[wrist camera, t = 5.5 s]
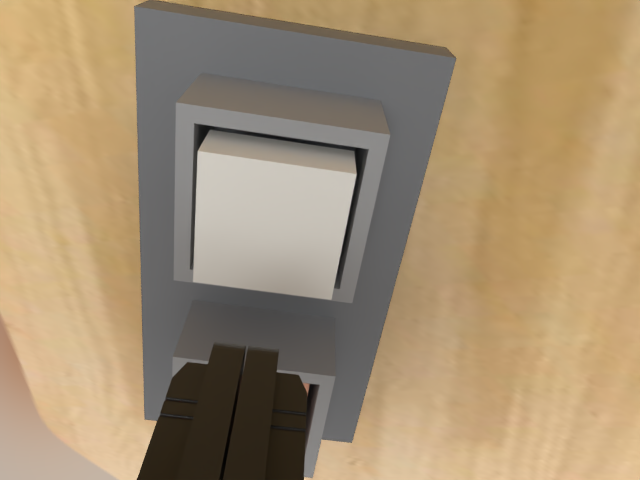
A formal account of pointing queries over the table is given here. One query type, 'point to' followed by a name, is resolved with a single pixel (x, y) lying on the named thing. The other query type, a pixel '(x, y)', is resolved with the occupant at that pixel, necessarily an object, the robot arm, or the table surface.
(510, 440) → the table surface
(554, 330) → the table surface
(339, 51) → the key panel
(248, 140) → the white key
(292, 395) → the robot arm
